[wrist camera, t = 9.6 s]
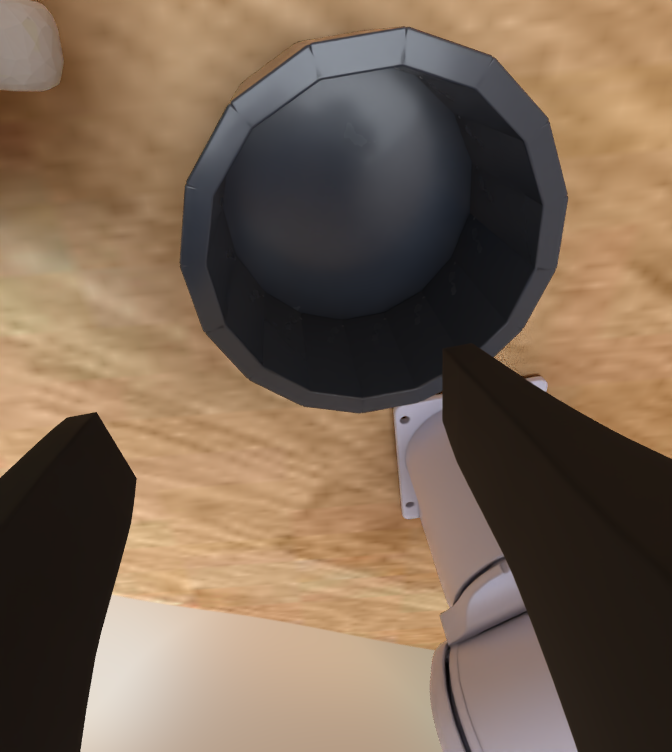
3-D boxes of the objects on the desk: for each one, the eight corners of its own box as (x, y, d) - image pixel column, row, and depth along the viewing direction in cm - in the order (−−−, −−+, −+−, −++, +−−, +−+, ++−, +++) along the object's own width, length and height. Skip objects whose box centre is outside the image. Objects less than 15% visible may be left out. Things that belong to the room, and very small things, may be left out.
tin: (477, 304, 21) (539, 381, 16) (247, 346, 21) (241, 436, 16) (493, 7, 15) (602, -9, 10) (162, 65, 14) (110, 77, 10)
